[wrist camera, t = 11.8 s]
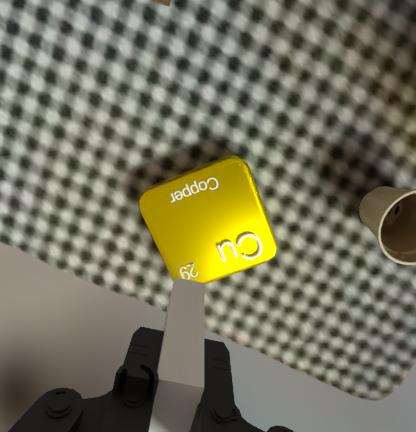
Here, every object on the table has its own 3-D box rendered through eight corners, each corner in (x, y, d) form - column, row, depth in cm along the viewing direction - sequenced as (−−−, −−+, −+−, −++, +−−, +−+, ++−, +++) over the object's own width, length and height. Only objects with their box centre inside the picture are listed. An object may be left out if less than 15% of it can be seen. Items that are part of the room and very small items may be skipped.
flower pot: (416, 230, 47) (461, 255, 39) (351, 245, 47) (382, 273, 39) (411, 167, 44) (459, 179, 36) (342, 184, 45) (374, 200, 36)
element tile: (240, 148, 44) (244, 152, 39) (275, 245, 48) (282, 258, 43) (138, 189, 45) (131, 197, 40) (181, 279, 49) (179, 296, 45)
